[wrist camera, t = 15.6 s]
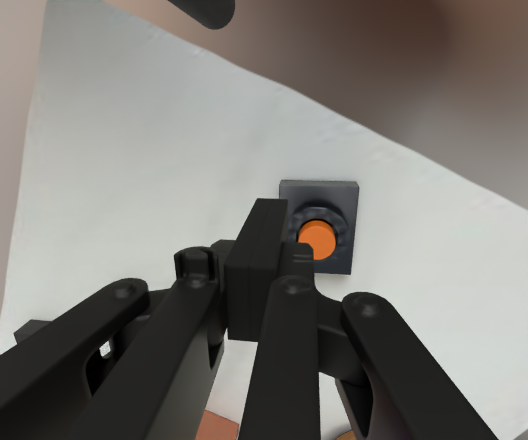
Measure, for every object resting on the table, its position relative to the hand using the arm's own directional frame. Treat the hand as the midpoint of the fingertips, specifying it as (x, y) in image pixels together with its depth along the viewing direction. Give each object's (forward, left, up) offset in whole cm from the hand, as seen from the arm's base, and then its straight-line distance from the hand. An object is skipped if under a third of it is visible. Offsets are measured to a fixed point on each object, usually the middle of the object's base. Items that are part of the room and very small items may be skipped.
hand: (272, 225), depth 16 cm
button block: (+7, +3, -20) cm, 21 cm away
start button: (+7, +3, -16) cm, 18 cm away
